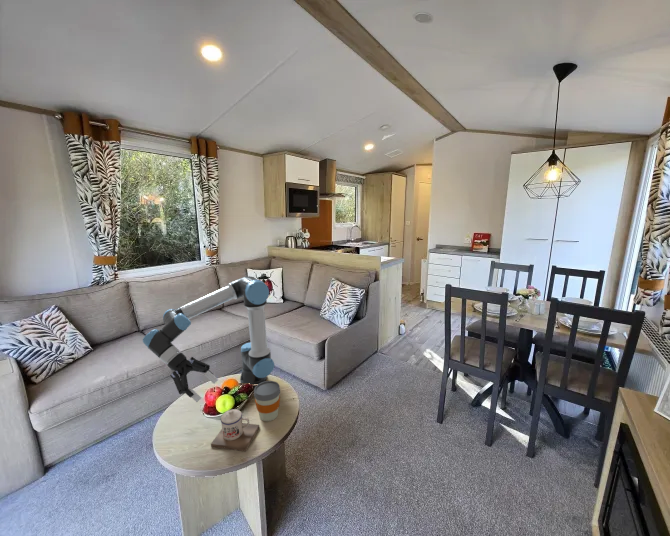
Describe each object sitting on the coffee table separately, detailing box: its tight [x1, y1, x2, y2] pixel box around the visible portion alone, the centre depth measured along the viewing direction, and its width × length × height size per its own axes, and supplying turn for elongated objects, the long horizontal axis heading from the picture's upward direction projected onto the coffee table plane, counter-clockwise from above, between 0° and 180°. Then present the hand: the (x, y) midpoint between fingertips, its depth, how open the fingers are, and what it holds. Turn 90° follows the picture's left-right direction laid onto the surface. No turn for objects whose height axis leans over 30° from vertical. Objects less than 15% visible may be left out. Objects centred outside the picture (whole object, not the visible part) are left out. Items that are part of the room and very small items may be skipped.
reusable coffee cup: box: [253, 380, 281, 422], centre depth 146 cm, size 12×13×15 cm
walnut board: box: [210, 422, 260, 452], centre depth 134 cm, size 14×16×2 cm
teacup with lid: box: [220, 408, 250, 440], centre depth 133 cm, size 12×9×12 cm
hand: (208, 390), depth 134 cm, fingers open, 13 cm apart
